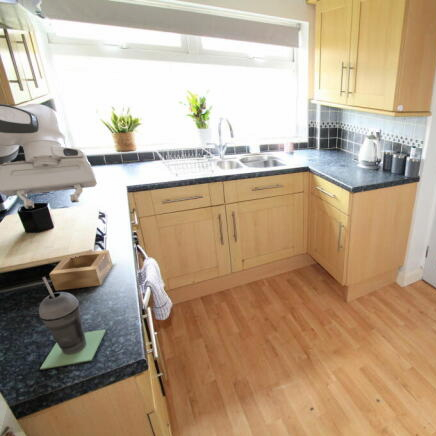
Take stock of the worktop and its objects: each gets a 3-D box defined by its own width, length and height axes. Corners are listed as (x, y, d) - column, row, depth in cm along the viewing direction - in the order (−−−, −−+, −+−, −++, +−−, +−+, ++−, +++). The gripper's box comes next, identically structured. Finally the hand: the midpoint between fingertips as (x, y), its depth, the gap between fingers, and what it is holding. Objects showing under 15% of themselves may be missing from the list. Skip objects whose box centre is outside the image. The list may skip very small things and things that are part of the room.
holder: (55, 290, 97) (49, 274, 94) (72, 269, 107) (67, 254, 105) (100, 285, 100) (95, 269, 97) (112, 265, 110) (108, 250, 108)
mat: (40, 369, 71) (39, 368, 71) (60, 337, 80) (60, 336, 80) (91, 360, 74) (91, 359, 74) (106, 330, 83) (105, 329, 82)
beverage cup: (70, 363, 73) (40, 292, 64) (48, 354, 75) (16, 284, 66) (100, 340, 79) (76, 273, 71) (79, 333, 81) (54, 266, 73)
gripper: (-11, 156, 79) (-8, 205, 75) (89, 149, 89) (96, 193, 85) (1, 169, 84) (5, 216, 81) (94, 161, 94) (101, 203, 90)
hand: (52, 204), depth 83 cm, fingers open, 8 cm apart
